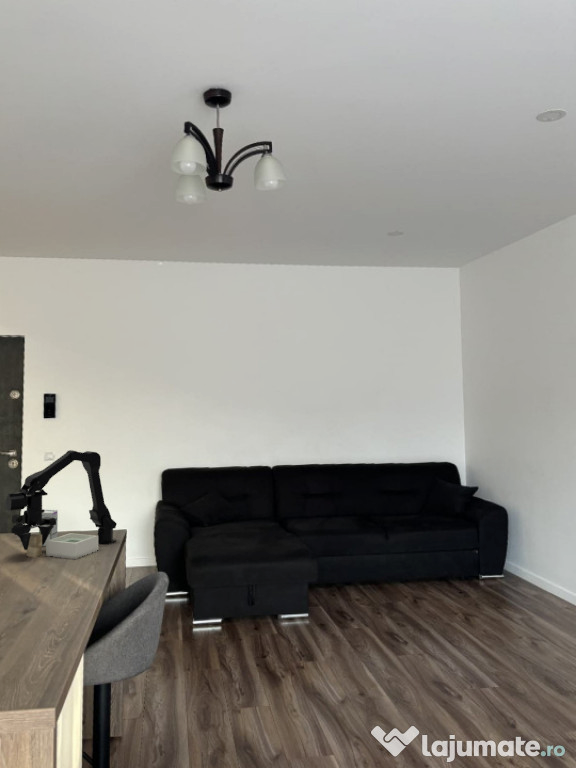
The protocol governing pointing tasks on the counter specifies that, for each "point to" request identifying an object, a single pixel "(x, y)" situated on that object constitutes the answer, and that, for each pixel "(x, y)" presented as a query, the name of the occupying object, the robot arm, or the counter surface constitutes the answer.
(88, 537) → the open box
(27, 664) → the counter surface
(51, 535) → the syrup box
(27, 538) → the robot arm
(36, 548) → the maple peg
